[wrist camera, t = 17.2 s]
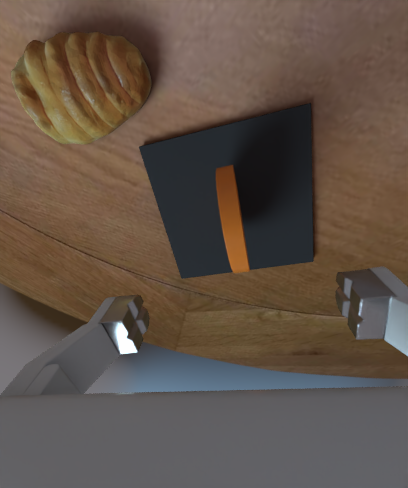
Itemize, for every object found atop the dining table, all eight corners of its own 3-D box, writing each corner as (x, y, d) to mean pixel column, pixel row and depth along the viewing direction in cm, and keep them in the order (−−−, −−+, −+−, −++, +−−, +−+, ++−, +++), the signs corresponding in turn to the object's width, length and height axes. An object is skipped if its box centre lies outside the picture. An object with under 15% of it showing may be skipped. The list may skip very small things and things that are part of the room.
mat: (141, 146, 20) (138, 146, 19) (308, 103, 17) (311, 102, 17) (182, 275, 26) (181, 278, 25) (311, 258, 23) (313, 261, 23)
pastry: (133, 12, 16) (107, -18, 13) (166, 118, 19) (153, 116, 15) (27, 62, 18) (-19, 47, 15) (72, 150, 21) (42, 155, 17)
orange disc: (219, 165, 20) (211, 173, 12) (233, 162, 20) (232, 168, 12) (234, 248, 23) (235, 294, 15) (246, 246, 22) (253, 292, 15)
